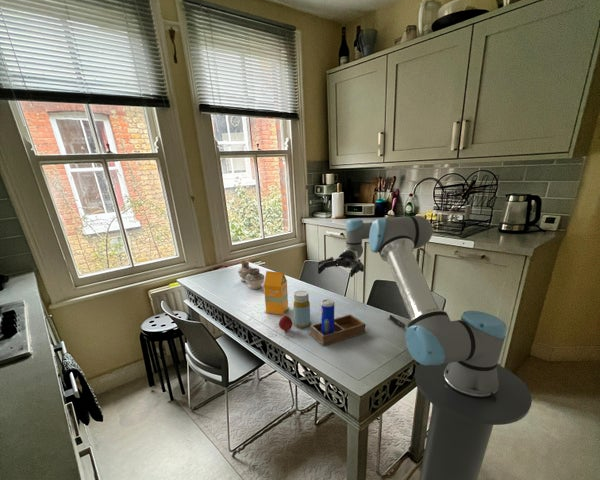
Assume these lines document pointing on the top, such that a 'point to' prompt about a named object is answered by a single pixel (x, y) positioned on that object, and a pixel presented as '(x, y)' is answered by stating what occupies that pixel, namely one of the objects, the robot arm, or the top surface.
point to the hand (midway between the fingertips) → (334, 272)
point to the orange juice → (275, 292)
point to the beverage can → (327, 316)
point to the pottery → (251, 275)
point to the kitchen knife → (398, 322)
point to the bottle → (301, 309)
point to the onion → (285, 323)
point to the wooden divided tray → (339, 330)
